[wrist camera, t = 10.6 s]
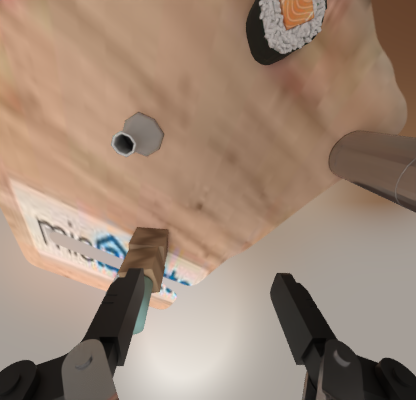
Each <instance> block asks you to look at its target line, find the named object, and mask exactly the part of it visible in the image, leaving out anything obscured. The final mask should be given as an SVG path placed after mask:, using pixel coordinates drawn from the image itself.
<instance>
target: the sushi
mask: <svg viewBox="0 0 416 400" xmlns="http://www.w3.org/2000/svg"><path fill="white" fill-rule="evenodd" d="M326 9H327V0H255V2H254V4H253V6H252V8H251V10H250V12H249V15H248V18H247V22H246V33H247V39H248V43H249V46H250V50H251V54H252V56H253V57H254V59H255V60H256V61H257V62H259V63H260V64H263V65H270V64H273V63H275V62H277V61H279V60H281V59H283V58H285V57H286V56H288V55H289V54H291V53H292V52H294V51H296V50H297V49H299V48H300V49H301V47H303V46H304V45H306V44H308V43H310V42H311V41H312V40H313V39H314V37H315V36H316V35H317V33H318V32H320V31H321V25H322V22H323V18H324V12H325V10H326Z"/></svg>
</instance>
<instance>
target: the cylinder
mask: <svg viewBox="0 0 416 400" xmlns="http://www.w3.org/2000/svg"><path fill="white" fill-rule="evenodd" d="M144 281H145V291H144V297H143V300H142V304H141V307H140V311H139V314H138V317H137V321H136V324H135V328H134V331H133V334H137V333H139V332H141V331H142V330H143V329H144V324H145V320H146V315H147V310H148V306H149V301H150V297H151V292H152V288H153V282H152V281H151V279H149V278H148V277H146V276H144Z"/></svg>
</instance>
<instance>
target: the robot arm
mask: <svg viewBox="0 0 416 400" xmlns="http://www.w3.org/2000/svg"><path fill="white" fill-rule="evenodd" d="M329 166H330V169H331V171H332V172H333V173H334V174H335V175H337V176H339V177H341V178H343V179H345V180H348V181H350V182H352V183H354V184H356V185H358V186H360V187H362V188H364V189H367V190H369V191H371V192H373V193H375V194H377V195H379V196H381V197H384V198H386V199H388V200H390V201H392V202H394V203H396V204H399V205H401V206H403V207H405V208H407V209H409V210H411V211H414V212H416V138H412V137H405V136H397V135H389V134H382V133H374V132H366V131H355V132H352V133H350V134H348V135H346V136H344V137H343V138H342V139H340V140H339V141H338V143H337V144H336V145H335V146H334V148H333V150H332V152H331V154H330V158H329ZM144 291H145V281H144V269H143V268H129V269H128V271H127V273H126V276H125V277H118V278H117V279H116V280H115V281H114V282H113V283H112V284H111V285H110V287H109V289H108V291H107V293H106V296H105V297H104V299H103V301H102V304H101V305H100V307H99V309H98V311H97V313H96V315H95V317H94V319H93V321H92V323H91V325H90V327H89V329H88V331H87V333H86V335H85V337H84V338H83V340H82V341H81V342H80V343H79V344H78V345H77V346H76V347H74V348H73V349H72V350H71V351H70V352H69V353H67V354H65V355H64V356H61V357H59V358H56V359H53V360H50V361H47V362H44V363H41V364H38V365H35V364H34V363H33V362H32V361H30V360H22V361H19V362H16V363H13V364H11V365H10V366H8V367H6V368H5V369H3V370H2V371H1V372H0V400H119V398H118V395H117V392H116V389H115V385H114V382H113V376H114V373H115V369H116V366H124V362H125V359H126V355H127V352H128V348H129V345H130V342H131V338H132V335H133V331H134V328H135V324H136V321H137V317H138V314H139V311H140V307H141V304H142V300H143V297H144ZM270 295H271V300H272V303H273V306H274V308H275V311H276V313H277V316H278V318H279V321H280V324H281V326H282V329H283V331H284V334H285V337H286V339H287V342H288V344H289V347H290V349H291V352H292V355H293V357H294V360H295V362H296V365H305V367H306V369H307V372H306V377H305V382H304V389H303V396H302V400H416V376H415V375H414V374H413V373H412V372H411V371H410V370H409V369H408V368H406V367H405V366H404V365H402V364H401V363H399V362H398V361H396V360H394V359H391V358H383V359H382V360H381V361H380V362H379V363H377V362H374V361H372V360H368V359H366V358H363V357H360V356H358V355H356V354H355V353H354V352H353V351H352V349H350V348H349V347H348V346H347V345H346V344H344V343H343V342H341V341H338V340H337V338H336V337H335V335H334V333H333V332H332V330H331V329H330V327H329V325H328V324H327V322H326V320H325V319H324V317H323V315H322V314H321V312H320V310H319V309H318V308H317V305H316V304H315V302H314V301H313V299H312V297H311V296H310V294H309V293H308V291H307V290H306V289H305V288H304V287H303V286H302V285H301V284H300V283H296V281H295V279H294V278H293V276H292V275H291V274H290V273H277V274H276V276H275V279H274V282H273V284H272V287H271V291H270Z"/></svg>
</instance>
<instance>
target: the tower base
mask: <svg viewBox="0 0 416 400" xmlns="http://www.w3.org/2000/svg"><path fill="white" fill-rule="evenodd" d="M154 246H159V249H160V253H161V256H162V260H163V263H164V265H165V261H166V256H167V246H168V230H167V229H154V228H141V227H137V229H136V231H135V233H134V235H133V236H132V238H131V240H130V242H129V250H130V249H138V248H146V247H154Z"/></svg>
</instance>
